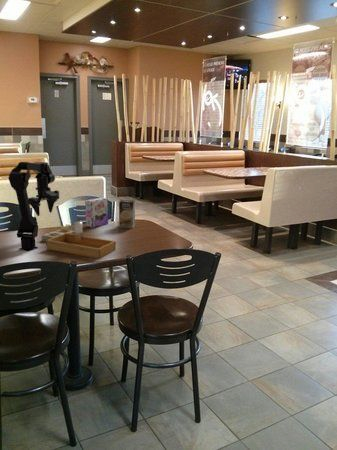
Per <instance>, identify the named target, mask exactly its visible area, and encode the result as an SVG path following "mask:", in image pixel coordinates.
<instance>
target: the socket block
mask: <svg viewBox="0 0 337 450" xmlns="http://www.w3.org/2000/svg"><path fill="white" fill-rule="evenodd" d="M65 233H68V234H74V235H75V233H74V230H72V229H70V231H69V232H65V231H61V228H60V229H59V228H58V229H56V230H53V231H51V232H48V233H45V234H42V235H41V241H42V242H47V240H48V239H51V238H54V237H56V236H59V235H62V234H65Z"/></svg>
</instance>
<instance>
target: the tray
mask: <svg viewBox="0 0 337 450" xmlns="http://www.w3.org/2000/svg"><path fill="white" fill-rule="evenodd" d="M116 243H117V242H116V241H115V240H110V239H103V238H97V237H92V236H85V235H83V240H82V241H75V235H74V234H68V233H65V234H62V235H59V236H56V237H54V238H51V239H48V240H47V241H46V249H47V251H55V252H59V253H65V254H71V255H76V256H82V257H86V256H87V258H93V259H98V260H99V259H101V258H103V257H105V256H107V255H110V254H111V253H112V252H114V251H116V249H117V248H116Z"/></svg>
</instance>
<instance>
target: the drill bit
mask: <svg viewBox="0 0 337 450" xmlns="http://www.w3.org/2000/svg"><path fill="white" fill-rule="evenodd" d="M73 229H74V233H75V241H82V240H83V236H84V235H83V234H84V231H83V229H84V228H83V221H74V222H73Z"/></svg>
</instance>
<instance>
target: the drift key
mask: <svg viewBox="0 0 337 450" xmlns="http://www.w3.org/2000/svg"><path fill="white" fill-rule="evenodd" d="M60 229H61V231H65V232H69V231H70V230H71V229H70V227H68V226H60Z"/></svg>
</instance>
